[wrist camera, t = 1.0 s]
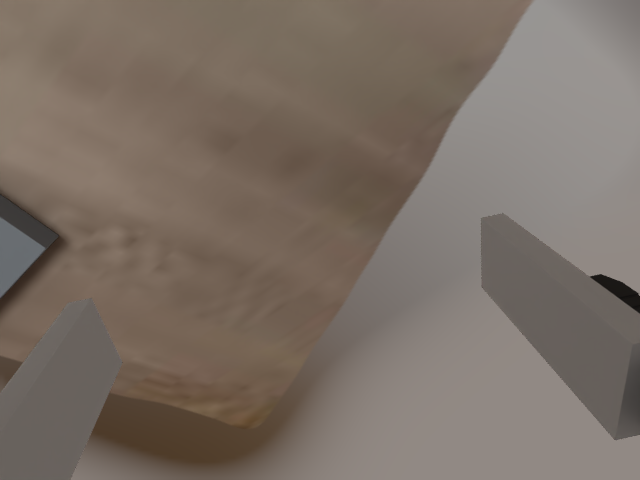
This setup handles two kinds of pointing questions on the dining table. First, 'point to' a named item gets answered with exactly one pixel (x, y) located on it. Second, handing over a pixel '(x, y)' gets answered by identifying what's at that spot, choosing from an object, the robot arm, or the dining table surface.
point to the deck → (19, 243)
